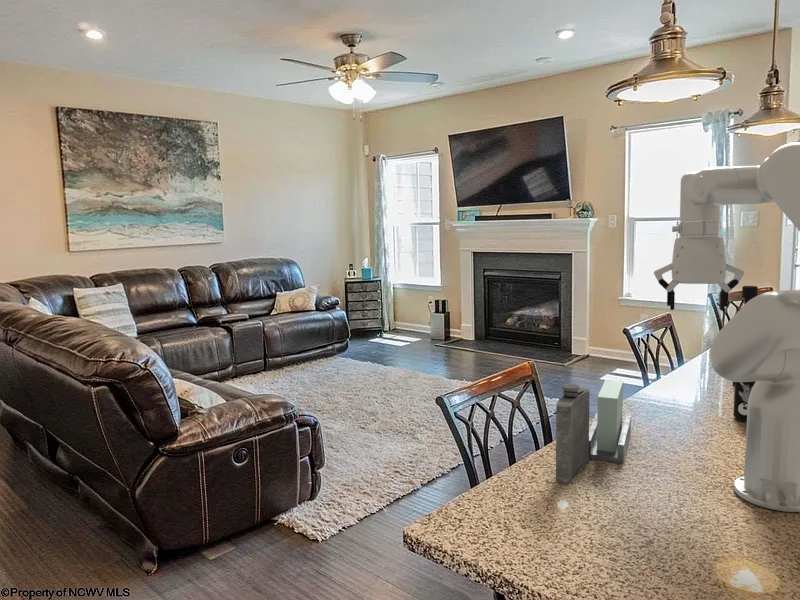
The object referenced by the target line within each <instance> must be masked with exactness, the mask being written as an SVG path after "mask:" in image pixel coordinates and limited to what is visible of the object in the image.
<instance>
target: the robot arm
mask: <svg viewBox="0 0 800 600" xmlns="http://www.w3.org/2000/svg"><path fill="white" fill-rule="evenodd" d="M679 190H680V195H679V196H680V197H679V198H680V199H679V224H676V225H671V227H672V228H671V232H672V233H677V234H679V236H678V237H675V239H674V243H673V251H672V257H671V258H672V260H671V263H669V264H667V265H664V266H663V267H660V268H658V269H657V270H654V271H653V275H654V276H655V279H656V280H657V282H658V284H659V285H660V286H661V287H662V288H664V289H665V291H666V292H667V293H666V306H667V307H669V308H670V311H673V310H675V300H676V299H675V298H676V297H675V295H676V294H675V290H674V289H675V288H676V287H677V286H678V285H679V284H683V285H684V284H685V285H691V284H692V285H693V284H695V285H696V284H697V285H706V284H707V285H710V284H711V285H712V284H713V285H715V284H716V285H718V286H719V288H720V291H719V299H718V300H719V302H718V303H719V305H718V310H720V311H721V312H725V309H726V307H727V308H728V307H729V293H730V292H731V291H732V290H733V289H734V288H735V287H736V286H737V285H738V284H739V283H740V281H741V280H742V278H743V277H744V275H745V271H744V270H742V269H739V268H737V267H735V266H733V265H731V264H729V263H726V248H725V247H726V246H725V240H724V236H720V211H721V209H720V207H721V206H727V205H759V204H769V203H776V205H777V206H778V208H779V209H780V210H781V211H782V212H783V214H785V216H786V217H787V218H788V219H789V220H790V222H791V223H792V224H793V225H794V226H795V227H796V228H797V230H798V232H800V141H797V142H795V141H794V142H789V143H787V144H786V143H785V144H784V145H781V146H780V147H778V148H777V149H775V150H774V151H772V153H771V154H770V155H769V156H768V157H767V158H765V159H764V160H763V161H762V162H761V163H760V165H737V166H734V165H731V166H730V165H729V166H710V167H705V168H703V169H701V170H699V171H692V172H686V173H684V174H683V175H682V176H681V178H680V189H679ZM670 271H671V279H672V280H671V281H670V282H669V283H668V282H667V281H666V280H665V279H664V277H663V275H664V274H665V273H667V272H670ZM726 271H728V272H730V273H732V274H734V276H733V278H732V279H731V280H730V281H729V282H727V283H726V282H725V280H726ZM709 359H710V365H711V367H712V368H713V370H714V371H715V373H716V374H717V375H718V376H719V377H721V378H722V379H724V380H726V381H730V382H732V383H733V382H754V381H756V382H755V384H754V386H753V388H752V390H751V392H750V395H749V399H748V410H747V423H746V430H745V433H746V434H745V449H744V450H745V451H744V452H745V453H744V470H743V476H740V477H738V478H735V480H734V482H733V490H734V492H735V493H736V494H737V496H738V497H740V498H741V499H743V500H744V501H746V502H748V503H751V504H753V505H755V506H759V507H762V508H766V509H769V510H772V511H780V512H785V513H786V512H787V513H800V288H799V289H788V290H785V289H784V290H772V291H766V292H764V293H761V294H758V295H757V296H756V297H754V298H752V299H751V300H749V301H748V302H747V303H746V304H743V306H742V307H741V308H740V309H739V310H737V312H736V313H735V314H734V315H733V316H732V317H731V318H730V320H728V321H727V323H725V325H724V326H723V327H722V328H721V329H720V330H718V332H717V334H716V335H715V337H714V338H713V340H712V343H711V345H710V349H709Z"/></svg>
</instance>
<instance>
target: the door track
mask: <svg viewBox="0 0 800 600" xmlns="http://www.w3.org/2000/svg"><path fill="white" fill-rule="evenodd" d="M631 432H632V415H630V414H626V415H625V417H624V421H623V423H622V431H621V435H620V438H619V442H618V447H617V451H616V452H609V451H602V450H597V411H596V413H595V415H594V417H593V419H592V423H591V424H590V425H589V460H590V459H591V460H597V461H604V462H611V463H619V464H624V463H625V459H626V454H627V450H628V446H629V440H630V436H631Z"/></svg>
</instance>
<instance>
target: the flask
mask: <svg viewBox="0 0 800 600" xmlns="http://www.w3.org/2000/svg"><path fill="white" fill-rule="evenodd" d="M562 393H563V395H562V396H561V397H560V398H559V399H558V400H557V402H556V407H555V408H556V409H555V410H556V411H555V412H556V413H555V415H556V417H555V422H556V423H555V482H556V483H557V484H560V485H570V484H571V483H572V480H573V477H574V476H575V474H576V473H577V472H578V471H579V469H581V468H582V467H583V466H584V465H586V464H588V463H589V460H590V458H589V429H590V397H591V395H590V393H591V392H590V389H589V388H588V387H581V386H579V385H578V384H574V383H566V384H565V383H564V384H562Z"/></svg>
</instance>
